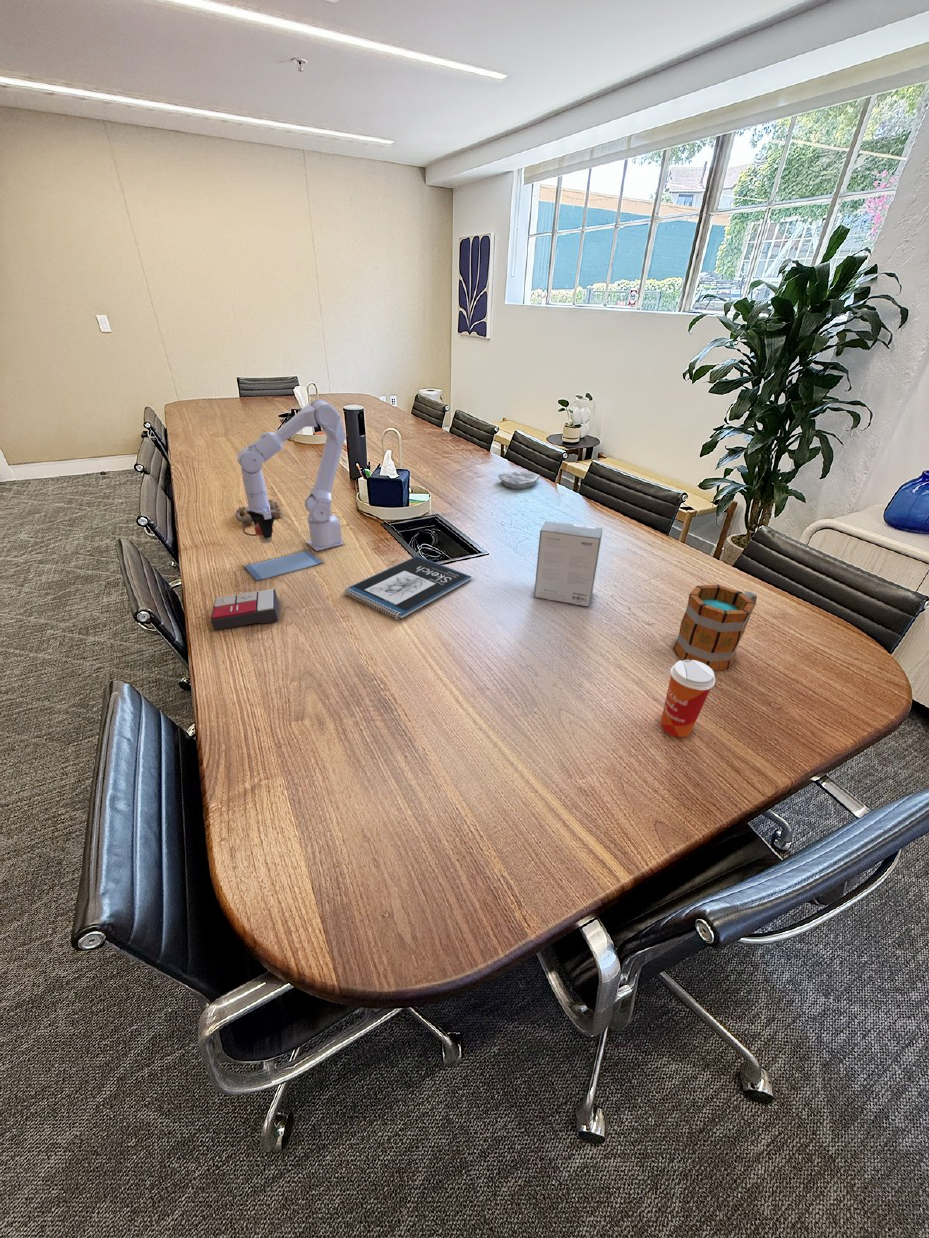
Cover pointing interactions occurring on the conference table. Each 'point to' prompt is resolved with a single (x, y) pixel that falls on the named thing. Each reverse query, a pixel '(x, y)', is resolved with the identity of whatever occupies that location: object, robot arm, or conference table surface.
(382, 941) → the conference table surface
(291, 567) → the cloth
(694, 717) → the paper cup
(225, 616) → the grey and red box
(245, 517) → the telephone
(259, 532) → the mushroom
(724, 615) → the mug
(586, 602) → the hard drive box
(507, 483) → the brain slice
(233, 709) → the conference table surface
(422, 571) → the sketchbook
